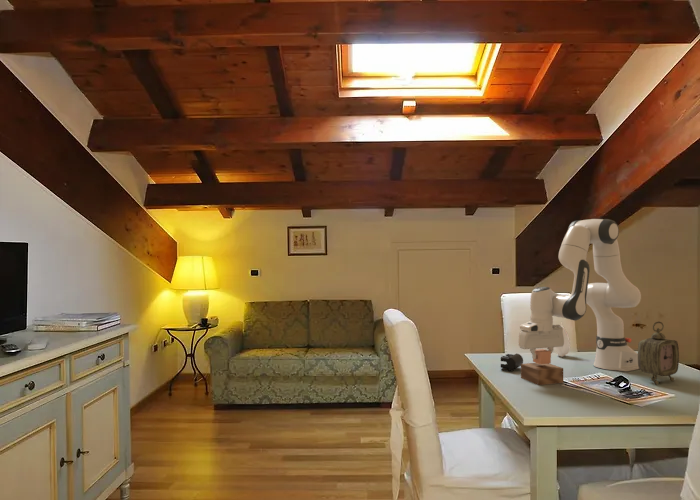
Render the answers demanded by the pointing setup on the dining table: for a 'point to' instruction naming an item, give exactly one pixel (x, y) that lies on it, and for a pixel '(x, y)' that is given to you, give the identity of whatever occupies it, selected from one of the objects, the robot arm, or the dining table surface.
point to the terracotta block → (543, 356)
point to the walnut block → (542, 373)
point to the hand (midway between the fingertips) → (541, 358)
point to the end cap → (511, 362)
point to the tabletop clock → (658, 355)
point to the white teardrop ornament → (565, 348)
